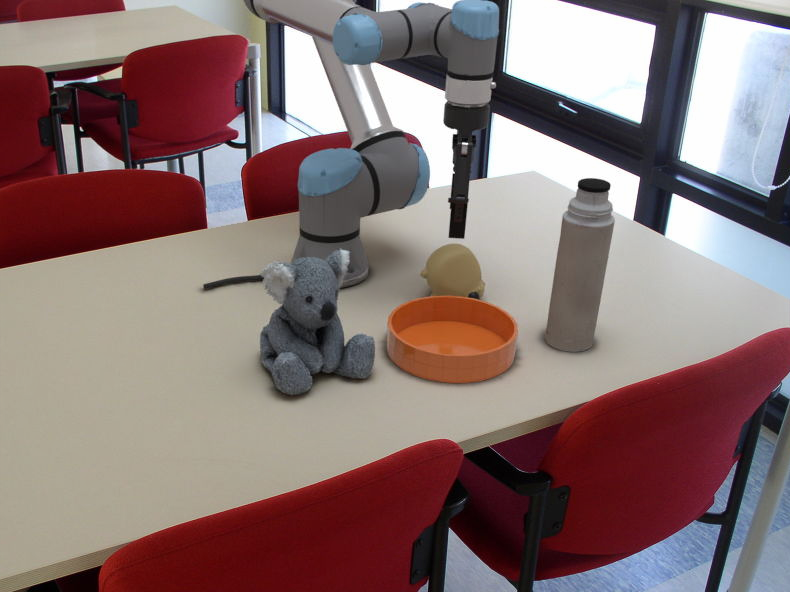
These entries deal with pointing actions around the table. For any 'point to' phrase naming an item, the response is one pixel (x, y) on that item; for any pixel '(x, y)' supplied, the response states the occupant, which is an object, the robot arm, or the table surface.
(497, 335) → the pan
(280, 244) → the table surface
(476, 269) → the beige pug toy
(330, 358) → the koala plush
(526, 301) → the table surface
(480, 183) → the table surface
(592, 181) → the thermos bottle
